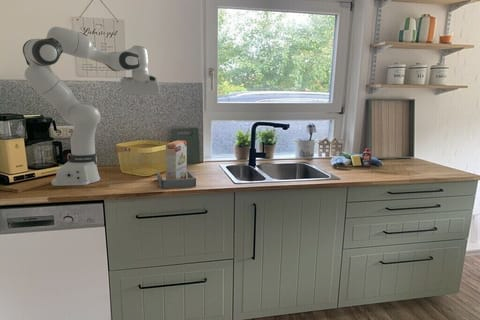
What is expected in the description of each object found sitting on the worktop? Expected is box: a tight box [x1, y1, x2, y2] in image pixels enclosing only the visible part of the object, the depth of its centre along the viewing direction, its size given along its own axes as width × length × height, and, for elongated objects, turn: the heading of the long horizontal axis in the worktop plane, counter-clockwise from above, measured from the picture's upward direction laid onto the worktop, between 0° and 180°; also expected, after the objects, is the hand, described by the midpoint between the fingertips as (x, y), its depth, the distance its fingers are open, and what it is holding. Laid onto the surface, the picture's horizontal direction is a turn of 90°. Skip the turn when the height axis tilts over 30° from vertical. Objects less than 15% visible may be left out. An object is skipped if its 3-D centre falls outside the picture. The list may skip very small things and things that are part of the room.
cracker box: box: [165, 140, 188, 180], centre depth 177 cm, size 14×6×21 cm, turn 166°
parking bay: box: [156, 170, 197, 190], centre depth 176 cm, size 17×17×4 cm
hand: (141, 103), depth 189 cm, fingers closed
